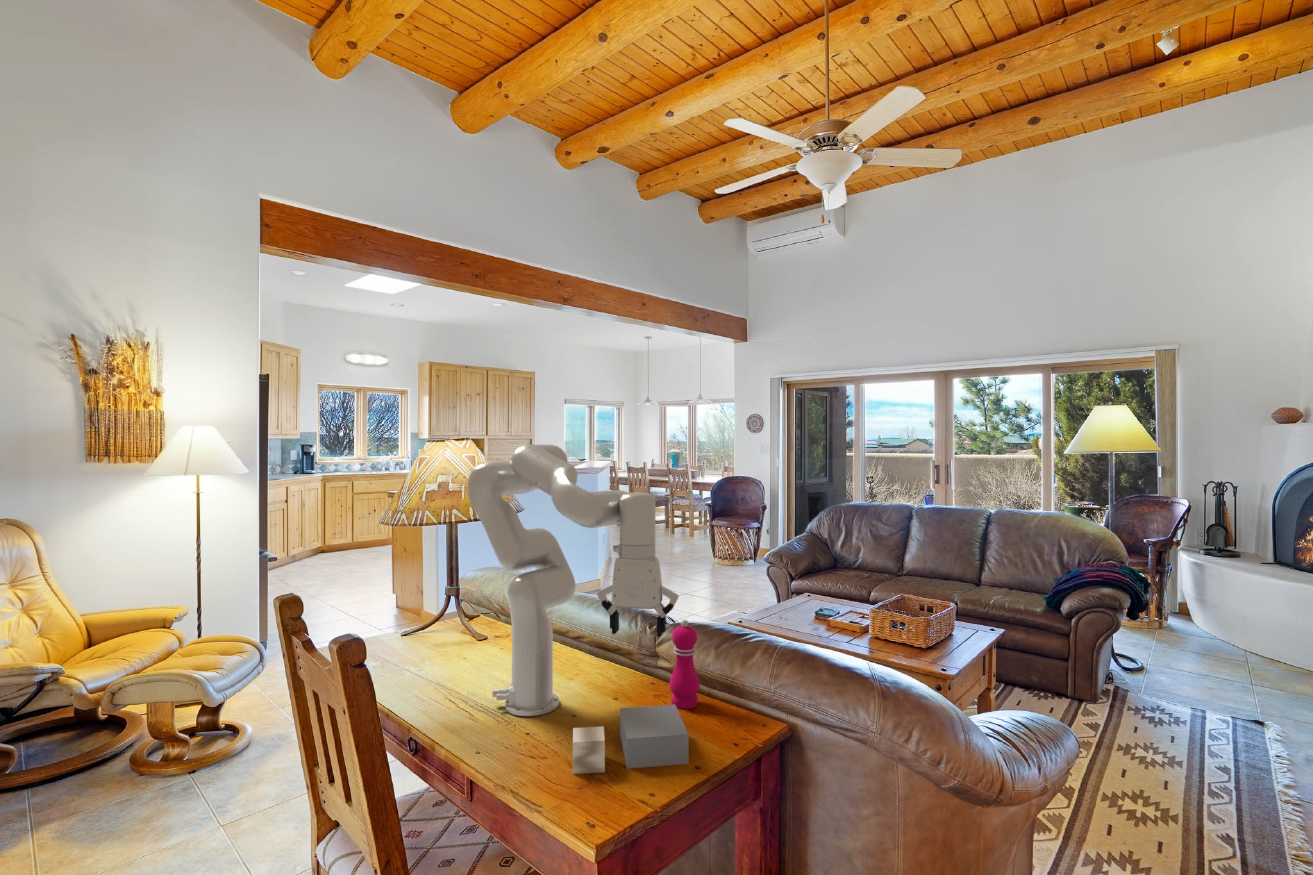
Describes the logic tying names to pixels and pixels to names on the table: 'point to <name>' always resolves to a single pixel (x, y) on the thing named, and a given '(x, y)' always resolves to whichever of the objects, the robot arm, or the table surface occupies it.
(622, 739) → the slate block
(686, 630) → the pepper mill
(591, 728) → the cream block
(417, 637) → the table surface
